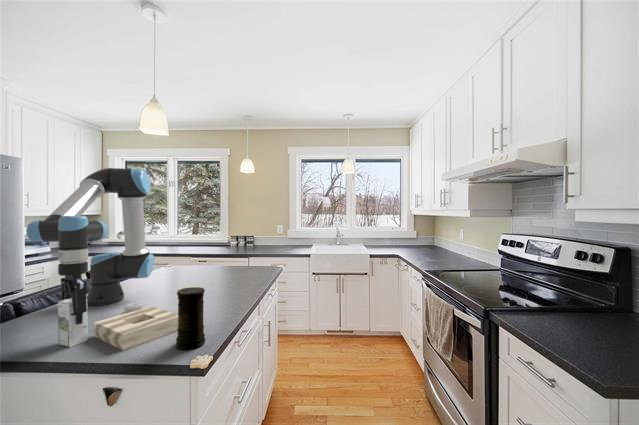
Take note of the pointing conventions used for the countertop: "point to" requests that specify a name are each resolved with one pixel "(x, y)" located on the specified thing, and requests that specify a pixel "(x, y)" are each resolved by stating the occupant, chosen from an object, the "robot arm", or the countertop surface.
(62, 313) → the syrup box
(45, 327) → the countertop surface
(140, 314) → the socket block
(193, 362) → the countertop surface
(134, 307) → the mechanical component
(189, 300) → the container
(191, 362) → the countertop surface
